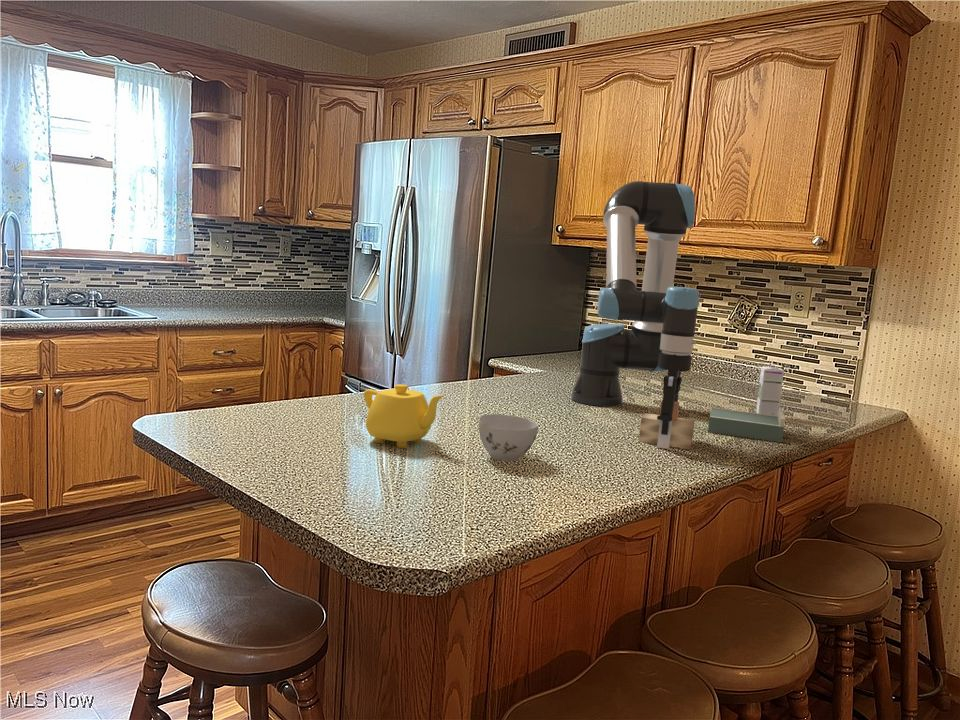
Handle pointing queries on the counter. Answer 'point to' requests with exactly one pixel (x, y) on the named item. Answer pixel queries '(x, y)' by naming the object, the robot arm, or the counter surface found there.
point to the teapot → (399, 415)
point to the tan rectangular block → (679, 431)
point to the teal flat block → (747, 424)
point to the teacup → (507, 435)
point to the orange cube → (675, 411)
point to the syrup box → (769, 390)
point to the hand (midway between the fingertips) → (665, 441)
